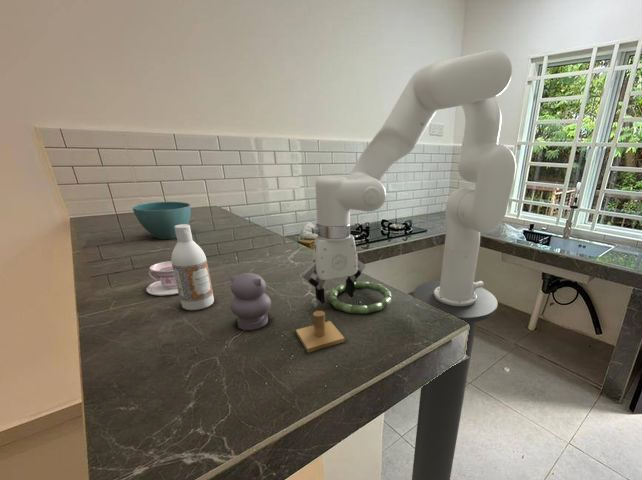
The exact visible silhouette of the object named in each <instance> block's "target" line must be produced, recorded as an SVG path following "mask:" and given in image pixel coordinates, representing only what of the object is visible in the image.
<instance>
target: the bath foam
mask: <svg viewBox="0 0 642 480" xmlns="http://www.w3.org/2000/svg"><path fill="white" fill-rule="evenodd" d="M175 232H176V236H177V238H176V241H177V242H176V243H175V246H174V247H173V250H172V252H171V259H170V261H172V267H173V271H174V275H175V280H176V284H177V288H178V292H179V294H178V296H179V301H180V304H181V307H182V309H184V310H187V311H199V310H203V309H206V308H209V307H211V305H213V304H214V302H215V297H214V291H213V287H212V281H211V276H210V269H209V265H208V260H207V257H206V254H205V252H204V250H203V249H202V248H201V246H200V245H199V244H197V243H196V242H195V241H194V240H193V234H192V230H191V226H190V224H188V225H187V224H180V225H176V226H175Z"/></svg>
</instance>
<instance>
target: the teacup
mask: <svg viewBox="0 0 642 480" xmlns="http://www.w3.org/2000/svg"><path fill="white" fill-rule="evenodd" d="M146 272H147V273H148V276H149V277H150V278H151V279H153V280H154V282H152V283H150V284H149V285H148V286H146V289H145V291H146V293H147V294H149V295H151V296H160V297H163V296H174V295H179V292H178V288H177V284H176V280H175V275H174V271H173V267H172V261H171V260H167V261H162V262H158V263H155V264H153V265H152V264H151V266H149V269H148V270H146ZM152 273H154V274H156V276H157V277H158V278H159V279H158V278H156V277H155V276H153V274H152Z"/></svg>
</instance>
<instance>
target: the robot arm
mask: <svg viewBox="0 0 642 480" xmlns="http://www.w3.org/2000/svg"><path fill="white" fill-rule="evenodd" d="M512 76H513V65H512V61H511V60H510V58H509V56H508V54H506V53H505V52H503V51H501V50H498V49H489V50H485V51H480V52H476V53H471V54H467V55H462V56H458V57H452V58H449V59H448V58H447V59H442V60H438V61H435V62H433V63H430V64H428V65H426V66H423V67H421V68H419V69H418V70H416V71H415V72H414V73H413V74H412V75H411V77H410V79H409V80H408V82H407V83H406V86H405V87H404V89H403V90H402V92H401V94H400V96H399V97H398V99H397V101H396V103H395V104H394V106H393V108H392V109H391V111H390V113H389V115H388V116H387V118H386V119H385V121H384V123H383V125H382V126H381V128H380V129H379V130H378V131H377V133H376V134H375V135H374V136H373V138H372V140H371V141H370V142H369V143H368V144H367V145H366V147H365V149H363V152H362V153H361V154H360V155H359V158H358V159H357V161H356V162H355V165H354V166H353V167H352V169H351V171H350V173H349V175H348V176H347V177H345V176H341V175H331V174H329V175H320V176H318V177H317V178H316V180H315V204H316V225H315V226H314V227H311V228H310V229H311V234H314V235H316V236H315V237H314V241H313V242H314V243H313V250H312V263H311V264H310V265H309V266H308V267H307V268H306V269H305V270H304V271H303V272H302V273H301V277H303V279H305V280H306V281H307V282H308V283H309V285H312V286H313V287H314V288H315V299H316V300H317V301H319V302H320V304H322V305H323V304H325V303H326V302H325V301H326V299H325V298H326V297H325V289H324V287H323V286H324V283H325V282H326V281H331V280H338V279H343V278H346V279H345V283H346V291H345V293H346V295H348V296H349V297H350V298H353V297H354V293H355V289H356V288H355V282H358V281H357V280H358V278H359V277H360V276H361V274H362V273H363V271H364V270H365V268H366V264H365V263H363V262H362V261H360V260H359V259H358V256H357V247H356V241H355V237H354V235H353V234H351V210H352V211H353V210H354V211H362V212H374V211H377V210H380V209H381V208H382V207H383V206H384V204H385V202H386V201H387V191H386V188H385V186H384V185H383V183H382V182H381V181H382V178H383V177H384V175H385V174H386V173H387V171H388V170H389V169H390V167H391V166H393V164H395V163H396V162H397V161H399V160H400V159H402V158H404V157H406V156H407V155H409V154H410V153H411V152H413V150H414V149H415V148H416V146H417V145H418V143H419V142H420V140H421V139H422V137H423V134H424V133H425V132H426V130H427V128H428V126H429V125H430V123H431V121H432V120H433V118H434V117H435V115H436V113H437V112H438V111H439V110H445V109H449V108H455V107H462V110H463V113H464V118H465V119H464V120H465V122H464V130H463V137H462V142H461V148H460V152H459V158H458V165H457V171H458V175H459V177H460V178H461V179H462V180H464V181H466V182H468V183H472V184H475V188H473V187H468V186H465V187H458V188H456V189H455V190H453V191H452V192H451V193H450V194H449V195H448V198H447V199H446V203H445V208H444V209H445V212H444V213H445V240H444V247H443V255H442V266H441V273H440V280H441V282H440V286H439V287H437V288H436V289H435V290H434V296H435V298H436V299H437V300H438V301H440V302H442V303H444V304H447V305H451V306H469V305H472V304H474V303H475V302H476V300H477V295H476V293H475V292H474V291H475V290H476V289H477V288H483V287H484V285H485V284H484V282H483V281H482V280H479V281H476V282H475V277H476V272H477V271H476V269H477V264H478V258H479V251H480V247H481V246H480V245H481V234H490V233H492V232H494V231H496V230H497V229H498V228H499V227H500V226H501V224H502V223H503V221H504V219H505V216H506V214H507V209H508V205H509V201H510V198H511V194H512V189H513V186H514V183H515V178H516V173H517V162H516V157H515V154H514V153H513V151H512V150H511V148H509V146H508V147H507V146H506V145H503V144H500V143H499V138H500V133H501V126H502V112H501V111H502V110H501V107H500V104H499V101H498V99H497V97H499V95H502V93H503V92H505V90H506V89H507V88H508V87H509V85H510V82H511V80H512ZM312 274H314V275H316V276H315V278H313V277H312V276H311V275H312Z"/></svg>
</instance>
